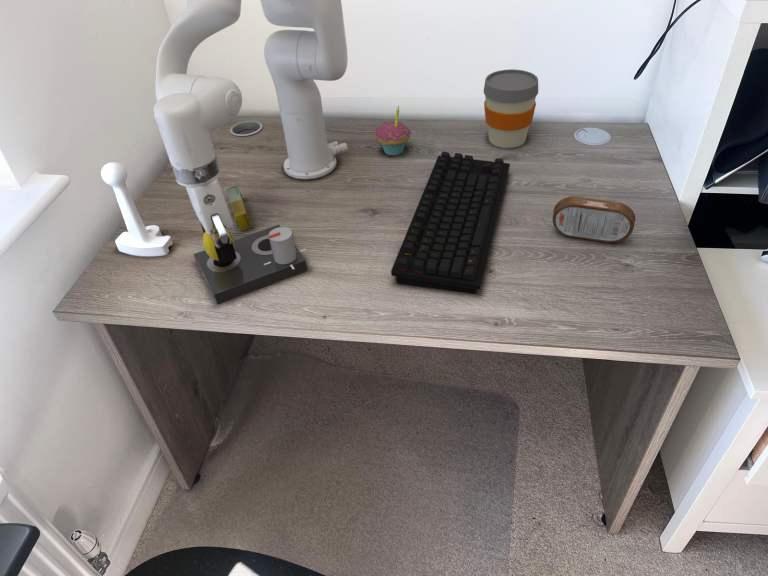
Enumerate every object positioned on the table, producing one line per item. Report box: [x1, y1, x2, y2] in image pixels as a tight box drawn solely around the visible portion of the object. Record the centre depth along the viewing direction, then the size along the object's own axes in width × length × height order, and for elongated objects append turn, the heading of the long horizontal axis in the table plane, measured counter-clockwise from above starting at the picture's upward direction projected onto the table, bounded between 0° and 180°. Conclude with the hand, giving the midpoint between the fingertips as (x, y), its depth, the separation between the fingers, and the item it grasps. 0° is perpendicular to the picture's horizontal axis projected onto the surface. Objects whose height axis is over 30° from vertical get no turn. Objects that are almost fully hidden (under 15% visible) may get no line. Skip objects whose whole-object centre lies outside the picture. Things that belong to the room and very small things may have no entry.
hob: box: [193, 224, 308, 305], centre depth 119 cm, size 19×15×3 cm
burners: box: [207, 235, 272, 272], centre depth 120 cm, size 15×6×1 cm, turn 118°
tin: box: [552, 195, 636, 244], centre depth 118 cm, size 15×3×8 cm, turn 71°
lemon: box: [202, 227, 235, 261], centre depth 116 cm, size 6×6×8 cm
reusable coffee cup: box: [483, 68, 539, 149], centre depth 147 cm, size 12×13×15 cm
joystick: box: [100, 161, 174, 257], centre depth 122 cm, size 11×8×20 cm
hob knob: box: [268, 226, 297, 264], centre depth 116 cm, size 4×4×6 cm
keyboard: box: [390, 151, 511, 295], centre depth 125 cm, size 42×16×5 cm, turn 165°
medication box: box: [226, 185, 253, 232], centre depth 132 cm, size 12×3×4 cm, turn 19°
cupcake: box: [374, 105, 412, 156], centre depth 147 cm, size 9×8×12 cm
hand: (220, 247), depth 116 cm, fingers open, 9 cm apart
